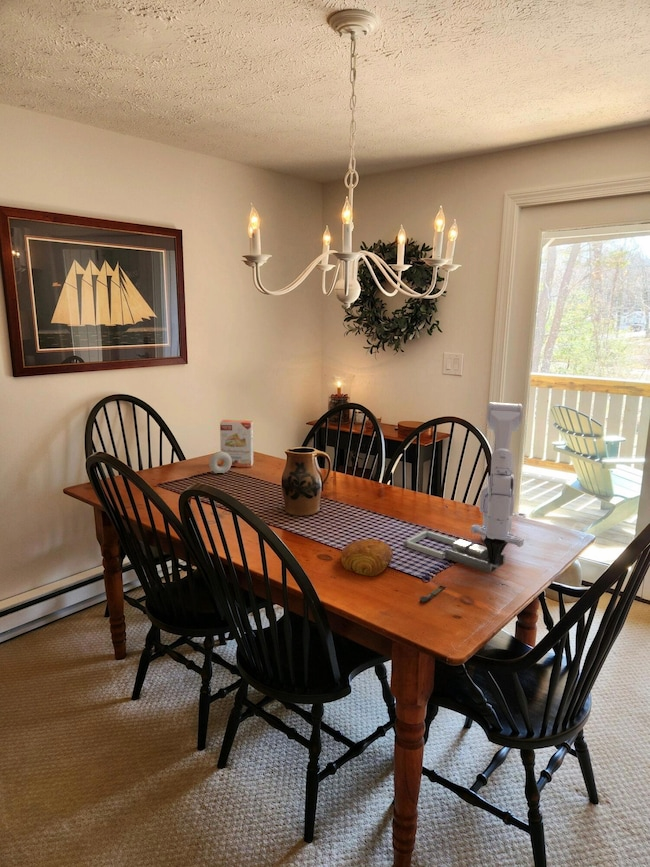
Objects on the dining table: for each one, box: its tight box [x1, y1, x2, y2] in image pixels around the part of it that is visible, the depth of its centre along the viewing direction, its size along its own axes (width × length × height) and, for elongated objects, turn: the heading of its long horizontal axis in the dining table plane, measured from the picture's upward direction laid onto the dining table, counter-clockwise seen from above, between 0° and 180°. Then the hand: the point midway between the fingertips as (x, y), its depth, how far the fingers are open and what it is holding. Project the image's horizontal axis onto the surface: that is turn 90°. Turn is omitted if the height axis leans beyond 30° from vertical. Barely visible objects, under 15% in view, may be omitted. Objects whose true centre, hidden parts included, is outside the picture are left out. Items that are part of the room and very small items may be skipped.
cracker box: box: [219, 419, 254, 468], centre depth 254 cm, size 14×6×21 cm, turn 86°
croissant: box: [340, 538, 394, 577], centre depth 159 cm, size 14×16×8 cm
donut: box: [208, 450, 232, 474], centre depth 242 cm, size 10×4×10 cm, turn 118°
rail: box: [444, 543, 506, 574], centre depth 160 cm, size 9×14×4 cm, turn 47°
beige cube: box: [451, 538, 473, 555], centre depth 163 cm, size 4×4×4 cm
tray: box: [403, 530, 458, 560], centre depth 169 cm, size 12×13×2 cm
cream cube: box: [468, 543, 488, 561], centre depth 159 cm, size 4×4×4 cm
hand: (494, 563), depth 156 cm, fingers closed
